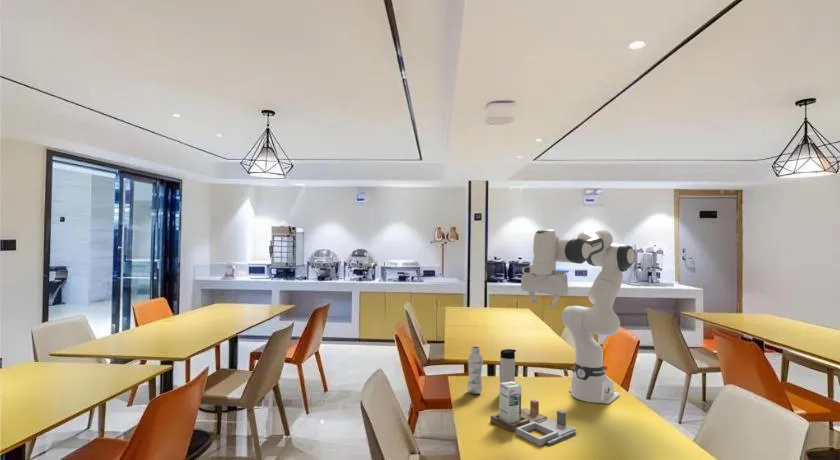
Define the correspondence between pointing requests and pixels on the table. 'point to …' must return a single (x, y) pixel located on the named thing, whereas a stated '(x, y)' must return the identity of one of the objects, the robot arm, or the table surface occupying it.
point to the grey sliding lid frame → (546, 429)
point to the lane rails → (559, 436)
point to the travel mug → (507, 365)
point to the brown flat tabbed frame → (526, 417)
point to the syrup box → (510, 402)
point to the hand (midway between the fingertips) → (543, 304)
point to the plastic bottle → (475, 371)
